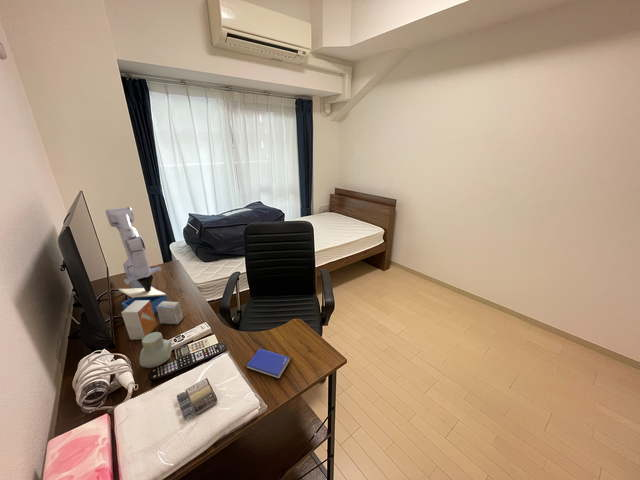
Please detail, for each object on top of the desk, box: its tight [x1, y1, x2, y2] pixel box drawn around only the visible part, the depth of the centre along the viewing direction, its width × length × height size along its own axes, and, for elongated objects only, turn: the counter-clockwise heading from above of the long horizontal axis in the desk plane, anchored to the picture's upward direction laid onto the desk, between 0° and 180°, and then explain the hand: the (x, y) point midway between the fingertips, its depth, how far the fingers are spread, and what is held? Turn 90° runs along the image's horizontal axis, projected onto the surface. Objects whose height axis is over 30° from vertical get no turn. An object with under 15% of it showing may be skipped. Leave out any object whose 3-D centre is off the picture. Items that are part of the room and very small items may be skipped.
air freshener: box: [138, 331, 173, 369], centre depth 88 cm, size 11×8×10 cm
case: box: [120, 294, 169, 314], centre depth 116 cm, size 14×12×6 cm
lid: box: [118, 287, 167, 298], centre depth 114 cm, size 14×12×1 cm
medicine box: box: [156, 301, 184, 325], centre depth 108 cm, size 8×4×9 cm, turn 84°
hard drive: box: [246, 348, 291, 379], centre depth 88 cm, size 2×8×12 cm
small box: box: [121, 300, 158, 341], centre depth 101 cm, size 8×6×13 cm
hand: (148, 290), depth 116 cm, fingers closed
